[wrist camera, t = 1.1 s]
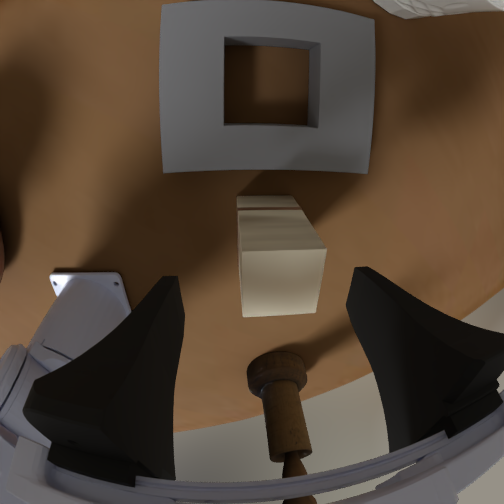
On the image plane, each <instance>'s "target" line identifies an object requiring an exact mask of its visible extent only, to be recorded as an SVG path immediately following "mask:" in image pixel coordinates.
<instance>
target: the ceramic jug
mask: <svg viewBox="0 0 504 504" xmlns="http://www.w3.org/2000/svg"><path fill="white" fill-rule="evenodd" d="M4 262H5V257H4V245H3V239H2V235H1V230H0V282H1V280H2V276H3V272H4Z"/></svg>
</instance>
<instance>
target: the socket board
mask: <svg viewBox="0 0 504 504" xmlns="http://www.w3.org/2000/svg"><path fill="white" fill-rule="evenodd" d="M225 45H251V46H274V47H287V48H297V49H306V50H309V94H308V121H307V125H294V124H270V123H224V57H225ZM374 95H375V25H374V20H373V19H370V18H367V17H363V16H359V15H355V14H352V13H347V12H343V11H339V10H334V9H329V8H324V7H318V6H313V5H306V4H299V3H291V2H281V1H269V0H202V1H190V2H181V3H173V4H166V5H162V11H161V28H160V55H159V98H160V128H161V147H162V161H163V173H174V172H190V171H211V170H311V171H332V172H348V173H361V174H368V167H369V158H370V149H371V139H372V127H373V114H374Z"/></svg>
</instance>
